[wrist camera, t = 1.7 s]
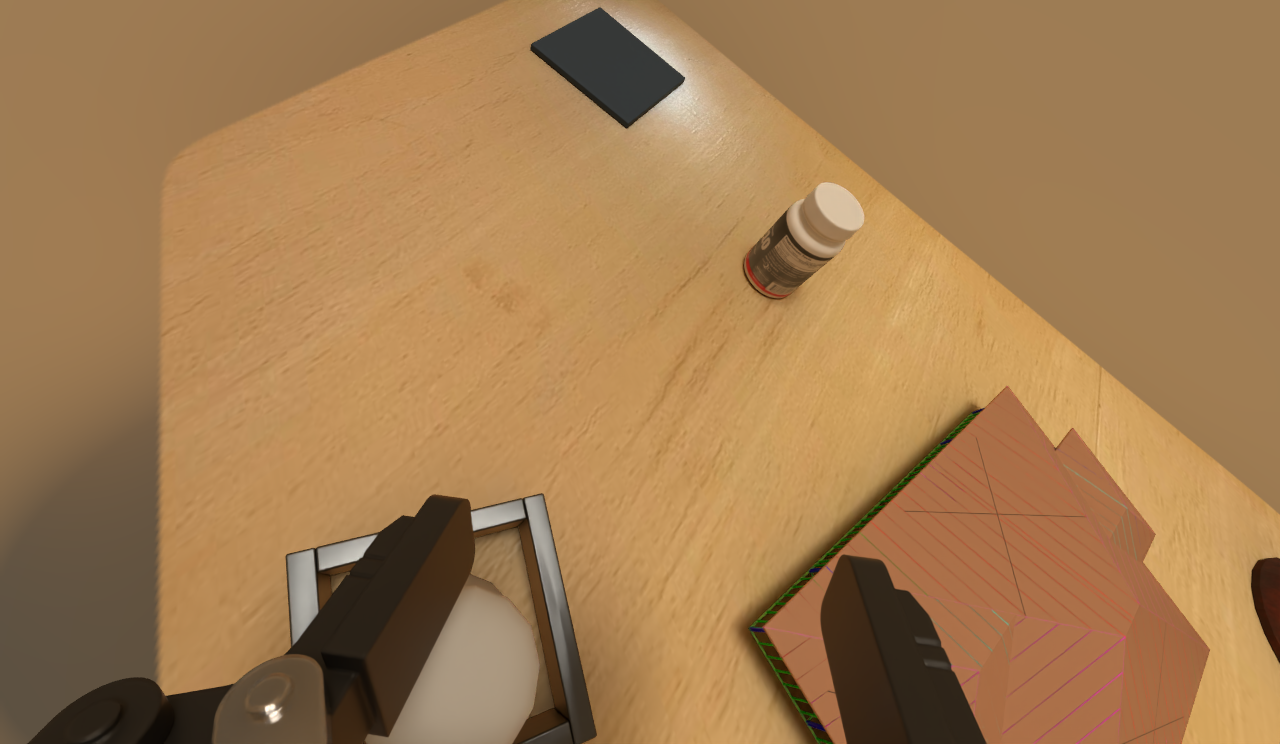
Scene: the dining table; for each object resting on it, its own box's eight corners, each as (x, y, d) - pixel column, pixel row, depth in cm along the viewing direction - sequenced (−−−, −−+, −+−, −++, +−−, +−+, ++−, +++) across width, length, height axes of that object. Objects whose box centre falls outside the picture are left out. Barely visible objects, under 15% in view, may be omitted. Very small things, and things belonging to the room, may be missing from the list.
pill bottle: (760, 240, 41) (828, 165, 34) (801, 279, 41) (878, 212, 34) (731, 269, 39) (799, 195, 32) (776, 310, 39) (853, 245, 32)
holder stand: (321, 839, 19) (304, 877, 16) (302, 559, 22) (285, 554, 20) (579, 721, 23) (598, 736, 21) (533, 502, 27) (543, 492, 24)
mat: (626, 128, 41) (628, 123, 40) (530, 49, 40) (530, 43, 40) (683, 82, 46) (685, 78, 46) (598, 12, 46) (600, 6, 45)
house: (1163, 623, 40) (1314, 628, 34) (992, 1060, 24) (1219, 1248, 17) (984, 387, 44) (1086, 347, 37) (730, 624, 28) (829, 632, 21)
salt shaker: (535, 640, 24) (622, 677, 13) (430, 752, 21) (430, 924, 10) (457, 548, 24) (477, 507, 13) (344, 645, 21) (250, 695, 10)
